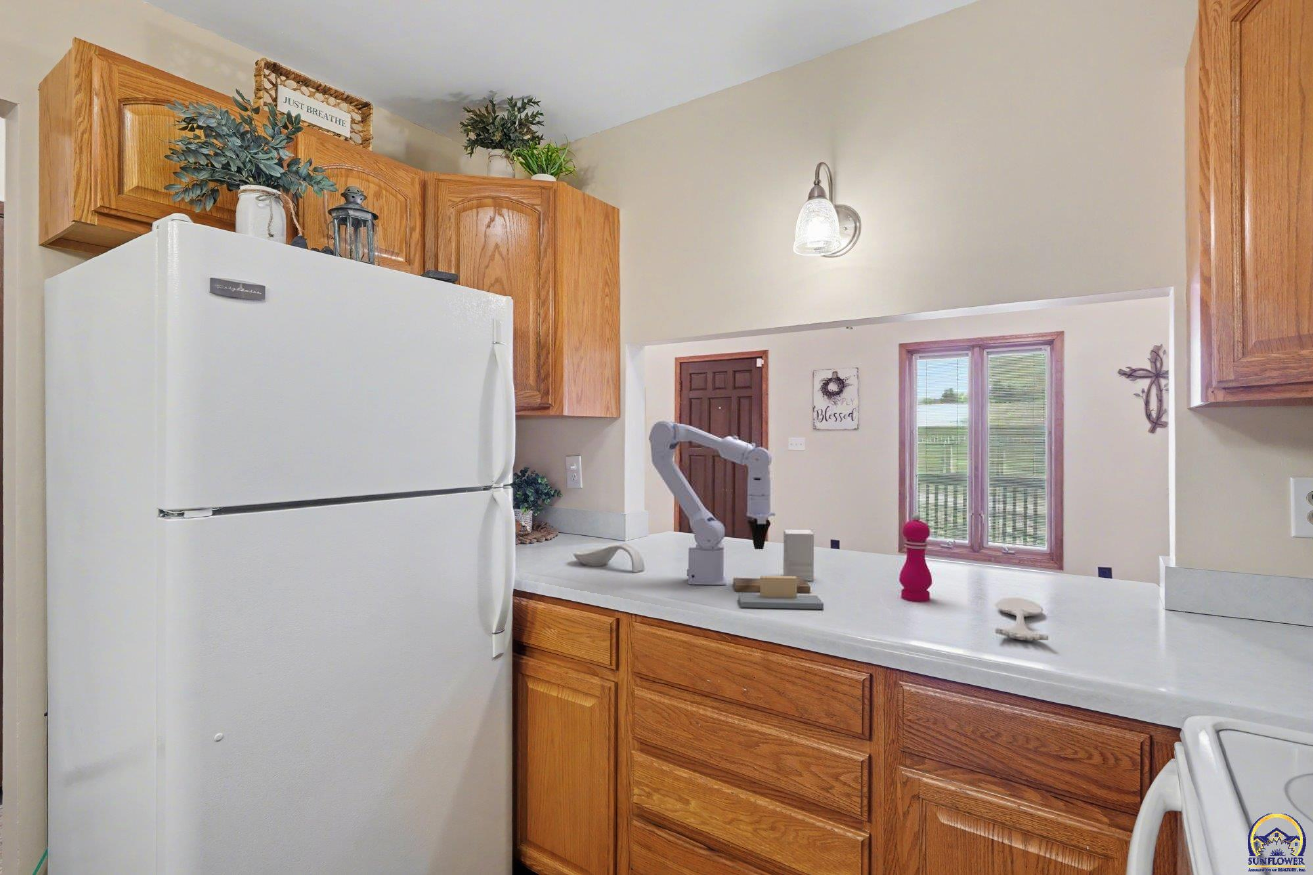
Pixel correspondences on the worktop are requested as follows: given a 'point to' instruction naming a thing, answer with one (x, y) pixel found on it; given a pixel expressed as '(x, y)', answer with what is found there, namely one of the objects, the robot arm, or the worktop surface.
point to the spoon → (1020, 618)
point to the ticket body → (754, 585)
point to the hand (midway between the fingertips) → (758, 548)
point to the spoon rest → (610, 556)
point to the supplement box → (799, 554)
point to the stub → (779, 595)
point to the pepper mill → (915, 562)
